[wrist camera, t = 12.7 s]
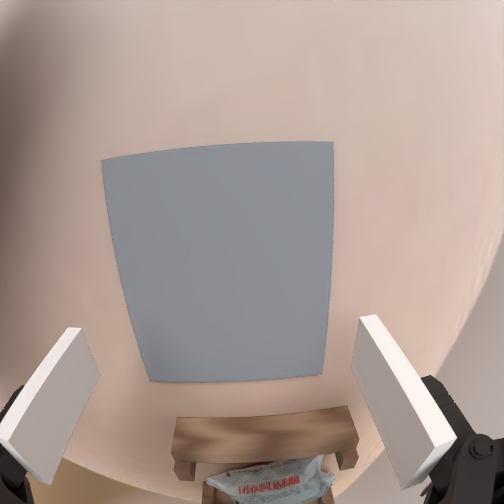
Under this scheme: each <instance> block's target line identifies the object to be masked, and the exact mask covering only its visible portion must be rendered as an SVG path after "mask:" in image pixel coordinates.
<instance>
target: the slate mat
mask: <svg viewBox="0 0 504 504" xmlns="http://www.w3.org/2000/svg"><path fill="white" fill-rule="evenodd" d="M101 162H102V172H103V181H104V189H105V197H106V204H107V211H108V218H109V224H110V230H111V235H112V241H113V246H114V251H115V256H116V261H117V266H118V271H119V275H120V280H121V284H122V288H123V292H124V296H125V300H126V304H127V308H128V312H129V316H130V319H131V323H132V326H133V330H134V333H135V337H136V340H137V343H138V347H139V350H140V353H141V356H142V359H143V362H144V365H145V368H146V371H147V374H148V377H149V380H150V381H163V382H229V381H251V380H266V379H279V378H290V377H300V376H309V375H317V374H322V370H323V362H324V353H325V344H326V334H327V324H328V312H329V300H330V286H331V270H332V250H333V219H334V151H333V142H260V143H240V144H224V145H211V146H200V147H190V148H181V149H172V150H164V151H156V152H149V153H142V154H135V155H129V156H123V157H117V158H111V159H106V160H101Z"/></svg>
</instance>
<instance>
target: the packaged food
mask: <svg viewBox="0 0 504 504" xmlns="http://www.w3.org/2000/svg"><path fill="white" fill-rule="evenodd" d="M323 459H324V455H318V456H312V457H304V458H297V459H288V460H278V461H274V462H271V463H267V464H257V465H253V466H250V467H246V468H242V469H236V470H231V471H225V472H224V473H222V474H220V475H218V474H217V475H215V476H210V477H208V478H207V482H206V483H207V484H208V485H211V486H214V487H215V488H218V489H220V491H224V492H226V493H227V494H228V495H229V496H231V498H232V499H233V501H234V502H235V503H236V504H302V503H306V502H310V501H313V500H315V499H317V498H319V497H321V496H323V495H324V494H326V493H327V491H328V490H329V488H330V486H331V485H332V480H334V478H335V475H334V474H333V473H332V474H326V473H325V472H323V471H321V466H322V462H323V461H322V460H323ZM210 481H211V482H210Z"/></svg>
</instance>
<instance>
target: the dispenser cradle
mask: <svg viewBox="0 0 504 504" xmlns="http://www.w3.org/2000/svg"><path fill="white" fill-rule="evenodd" d="M358 442H359V437H358V434H357V431H356V428H355V426H354V423H353V420H352V417H351V415H350V412H349V409H348V406H343V407H337V408H331V409H324V410H318V411H310V412H302V413H294V414H284V415H273V416H259V417H239V418H181V417H177V422H176V427H175V433H174V438H173V444H172V449H171V454H172V456H173V458H174V460H175V466H174V472H175V474H176V475H177V477H178V479H179V480H182V481H194V478H195V467H196V463H247V462H265V461H278V460H288V459H297V458H304V457H312V456H318V455H324V454H330V453H335V455H336V459H337V462H338V466H339V470H340V471H341V470H346V469H350V468H354V467H355V464H356V462H357V460H358V458H359V456H358V453H357V450H356V447H357V444H358ZM326 474H327V473H326ZM202 504H236V503H235V502H234V501H233V499H232V498H231V496H229V495H228V494H227V493H226V492H224V491H220V489H218V488H215V487H214V486H211V485H208V484H207V483H206V482H203V494H202ZM302 504H334V500H333V495H332V491H331V486H330V488H329V490H328V491H327V493H326V494H324V495H323V496H321V497H319V498H317V499H315V500H313V501H310V502H306V503H302Z"/></svg>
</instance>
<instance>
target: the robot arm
mask: <svg viewBox="0 0 504 504" xmlns="http://www.w3.org/2000/svg"><path fill="white" fill-rule="evenodd" d="M351 369H352V371H353V374H354V376H355V378H356V380H357V383H358V385H359V387H360V389H361V392H362V394H363V396H364V398H365V401H366V403H367V405H368V408H369V410H370V412H371V415H372V417H373V419H374V422H375V424H376V427H377V429H378V431H379V434H380V436H381V439H382V441H383V443H384V446H385V448H386V451H387V453H388V456H389V458H390V461H391V463H392V466H393V468H394V471H395V473H396V476H397V478H398V481H399V484H400V486H401V489H402V490H403V489H406V488H409V487H412V486H414V485H417V484H420V483H422V482H423V481H424V480H425V479H426V477H427V476H428V475H429V476H430V478H431V480H432V482H431V483H430V484H429V485H428V486H427V487H426V488H425V489H424V491H423V492H422V493H421V495H420V496H424V495H425V494H426V493H427V494H426V498H425V501H424V504H504V438H501V439H496V440H492V439H491V438H490V437H489V436H487V435H483V434H476V433H475V432H474V430H473V429H472V428H471V426H470V424H469V423H468V422H467V420H466V418H465V417H464V415H463V414H462V412H461V411H460V409H459V408H458V406H457V405H456V403H454V400H453V399H452V397H451V396H450V395H448V392H447V390H446V389H445V387H444V386H443V384H442V383H441V382H440V381H438V380H437V379H435V378H434V377H433V376H431V375H429V376H426V377H422V378H420V377H419V376H418V374H417V373H416V371H415V370H414V368H413V367H412V365H411V364H410V362H409V361H408V359H407V358H406V357H405V355H404V354H403V352H402V351H401V349H400V348H399V346H398V345H397V343H396V342H395V341H394V339H393V338H392V336H391V335H390V333H389V332H388V331H387V329H386V328H385V326H384V325H383V324H382V322H381V321H380V320H379V318H378V317H377V315H371V316H363V317H359V322H358V329H357V335H356V341H355V347H354V353H353V358H352V363H351ZM99 377H100V373H99V371H98V368H97V366H96V364H95V361H94V359H93V356H92V354H91V351H90V349H89V346H88V344H87V341H86V339H85V336H84V333H83V331H82V328H71V327H68V328H67V330H66V331H65V332H64V334H63V335H62V336H61V337H60V339H59V340H58V341H57V342H56V344H55V345H54V346H53V348H52V349H51V350H50V352H49V353H48V354H47V356H46V357H45V358H44V360H43V361H42V362H41V364H40V365H39V367H38V368H37V369H36V371H35V372H34V373H33V375H32V376H31V378H30V379H29V381H28V382H27V383H26V385H23V386H21V387H20V388H19V389H18V390H16V391H15V392H14V393H13V395H12V396H11V398H10V399H9V403H8V402H7V404H6V405H5V407H4V410H2V411H1V413H0V504H34V501H33V496H32V492H31V488H30V483H29V481H28V479H27V478H26V477H25V475H26V473H27V472H28V473H29V474H30V475H31V476H32V477H33V478H35V479H36V480H38V481H40V482H42V483H45V484H48V485H51V483H52V481H53V478H54V476H55V473H56V471H57V468H58V466H59V463H60V461H61V459H62V456H63V454H64V451H65V449H66V447H67V444H68V442H69V440H70V438H71V435H72V433H73V431H74V429H75V427H76V424H77V422H78V420H79V418H80V416H81V414H82V412H83V409H84V407H85V405H86V403H87V401H88V399H89V397H90V395H91V393H92V391H93V389H94V387H95V385H96V383H97V381H98V379H99Z"/></svg>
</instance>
